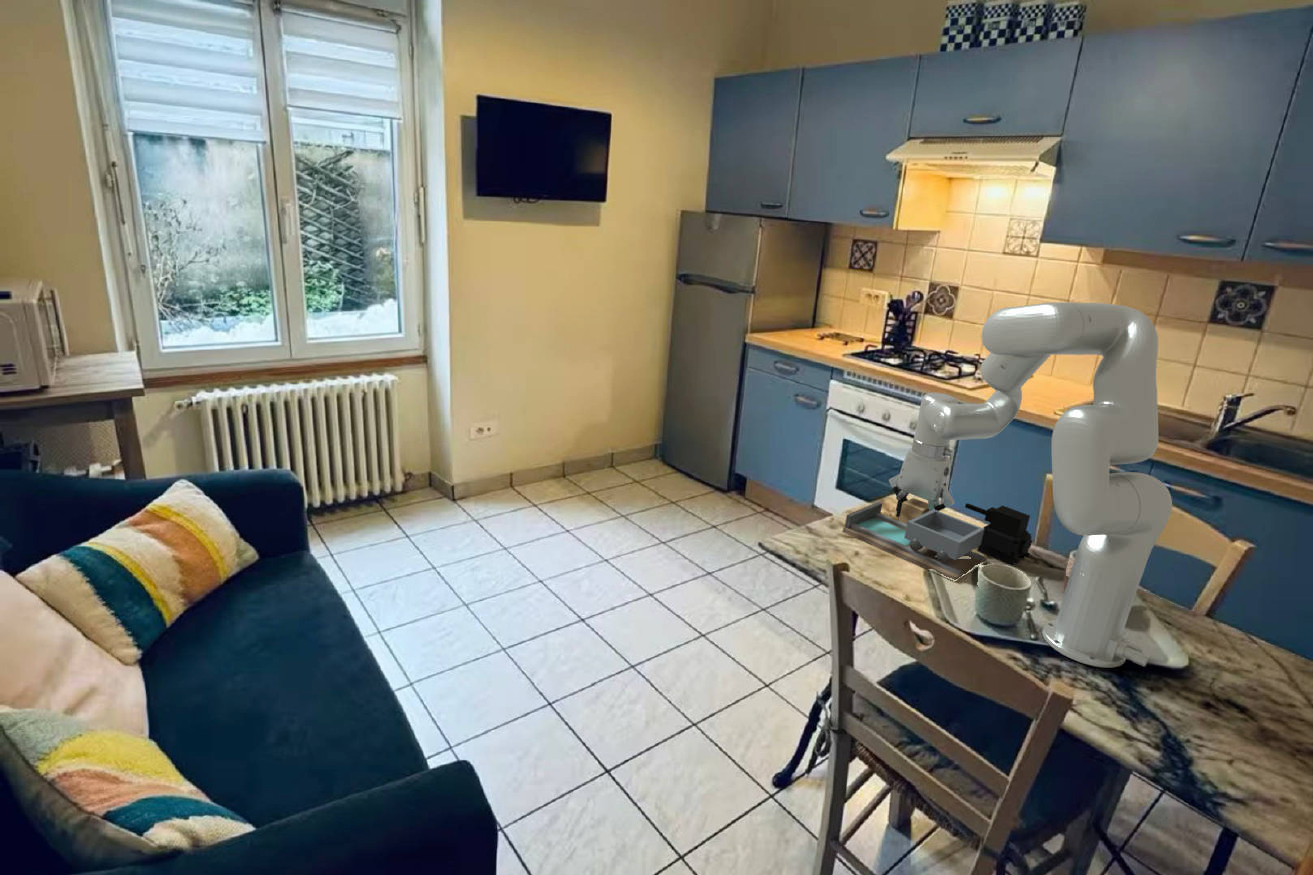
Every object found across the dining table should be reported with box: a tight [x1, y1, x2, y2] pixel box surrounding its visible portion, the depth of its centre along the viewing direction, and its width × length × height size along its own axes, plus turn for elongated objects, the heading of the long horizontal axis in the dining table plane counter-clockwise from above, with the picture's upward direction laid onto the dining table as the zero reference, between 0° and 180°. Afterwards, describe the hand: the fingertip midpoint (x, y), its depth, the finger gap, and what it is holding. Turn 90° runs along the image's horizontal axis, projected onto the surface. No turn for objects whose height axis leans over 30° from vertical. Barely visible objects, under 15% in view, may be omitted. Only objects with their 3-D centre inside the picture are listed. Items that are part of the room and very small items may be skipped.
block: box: [898, 497, 930, 524], centre depth 165 cm, size 5×5×5 cm
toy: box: [964, 502, 1033, 566], centre depth 154 cm, size 8×14×10 cm, turn 41°
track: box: [842, 501, 988, 580], centre depth 153 cm, size 26×14×4 cm, turn 42°
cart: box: [904, 509, 984, 563], centre depth 148 cm, size 11×11×6 cm
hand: (914, 520), depth 165 cm, fingers open, 6 cm apart
